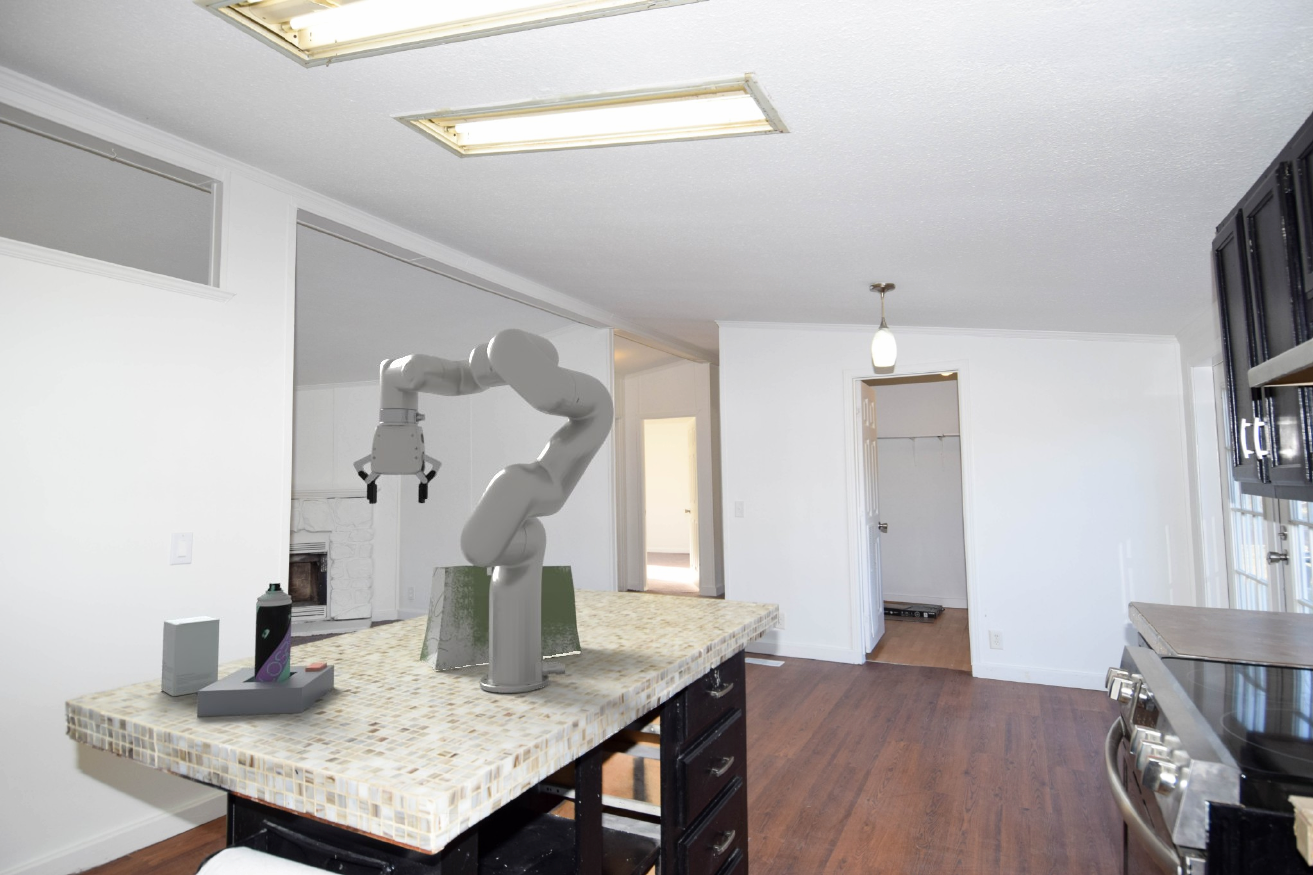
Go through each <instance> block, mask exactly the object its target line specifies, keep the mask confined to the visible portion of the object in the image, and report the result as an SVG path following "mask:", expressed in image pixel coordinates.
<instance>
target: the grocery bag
mask: <svg viewBox="0 0 1313 875" xmlns="http://www.w3.org/2000/svg"><path fill="white" fill-rule="evenodd" d="M493 570H494V567H477V566H474V565H456V566H455V565H454V566H441V567H439V566H437V567H433V571H432V580H431V588H430V589H431V590H430V598H429V605H428V606H429V607H428V614H427V622H426V629H425V633H424V639H423V643H422V646H421V650H420V657H419V661H421V660H423V661H425V662H426V663H429V665H431V667H433V669H435V670H443V669H451V668H455V667H463V666H466V665H476V664H483V663H489V588H490V581H491V576H492V573H493ZM575 596H576V595H575V585H574V578H573V572H572V566H571V565H543V567H542V581H541V655H543V656H552V655H556V654H563V653H569V652H573V651H581V652H582V648H581V647H582V646H581V642H580V638H579V637H580V636H579V632H578V623H577V612H576V610H577V608H576V597H575ZM433 669H432V670H433ZM451 670H452V669H451Z"/></svg>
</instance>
